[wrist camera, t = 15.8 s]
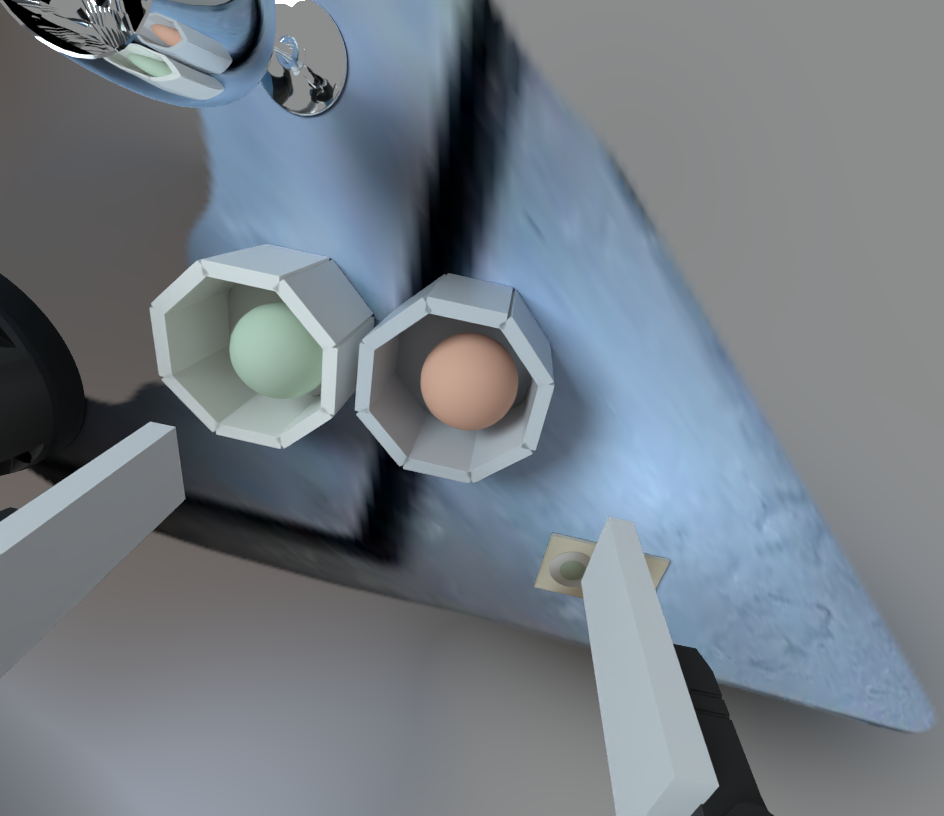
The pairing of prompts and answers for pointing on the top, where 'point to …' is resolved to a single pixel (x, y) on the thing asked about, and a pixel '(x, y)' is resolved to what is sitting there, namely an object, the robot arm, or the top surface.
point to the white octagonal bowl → (214, 318)
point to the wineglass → (199, 47)
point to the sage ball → (275, 352)
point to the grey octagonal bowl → (399, 375)
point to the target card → (578, 565)
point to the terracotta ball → (469, 381)
